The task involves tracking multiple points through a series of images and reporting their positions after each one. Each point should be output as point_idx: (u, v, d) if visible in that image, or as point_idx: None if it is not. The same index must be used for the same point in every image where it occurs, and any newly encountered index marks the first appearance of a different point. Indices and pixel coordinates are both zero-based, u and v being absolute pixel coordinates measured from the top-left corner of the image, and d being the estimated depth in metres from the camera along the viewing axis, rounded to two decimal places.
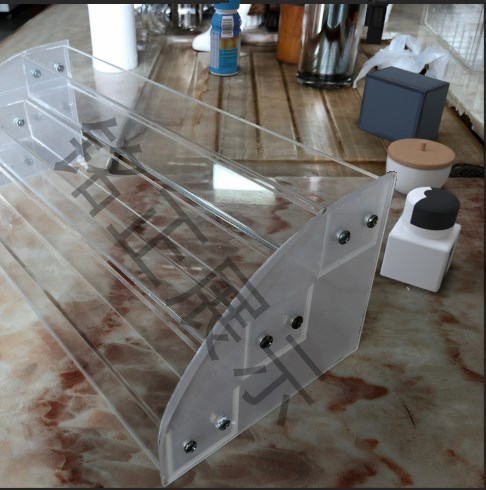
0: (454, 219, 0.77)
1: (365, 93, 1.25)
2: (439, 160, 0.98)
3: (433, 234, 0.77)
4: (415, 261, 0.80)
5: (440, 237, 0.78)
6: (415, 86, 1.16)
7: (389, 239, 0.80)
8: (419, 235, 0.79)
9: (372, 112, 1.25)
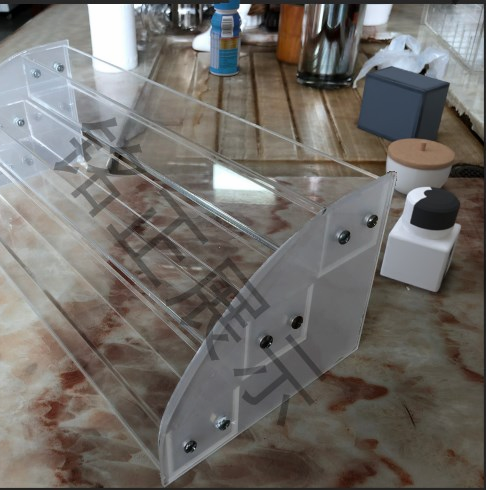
0: (454, 219, 0.77)
1: (365, 93, 1.25)
2: (439, 160, 0.98)
3: (433, 234, 0.77)
4: (415, 261, 0.80)
5: (440, 237, 0.78)
6: (415, 86, 1.16)
7: (389, 239, 0.80)
8: (419, 235, 0.79)
9: (372, 112, 1.25)
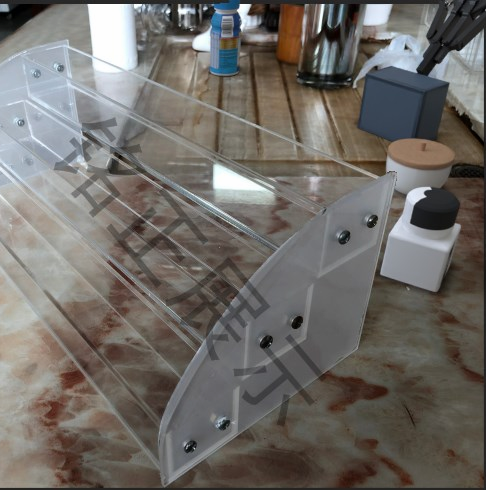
0: (454, 219, 0.77)
1: (365, 93, 1.25)
2: (439, 160, 0.98)
3: (433, 234, 0.77)
4: (415, 261, 0.80)
5: (440, 237, 0.78)
6: (415, 86, 1.16)
7: (389, 239, 0.80)
8: (419, 235, 0.79)
9: (372, 112, 1.25)
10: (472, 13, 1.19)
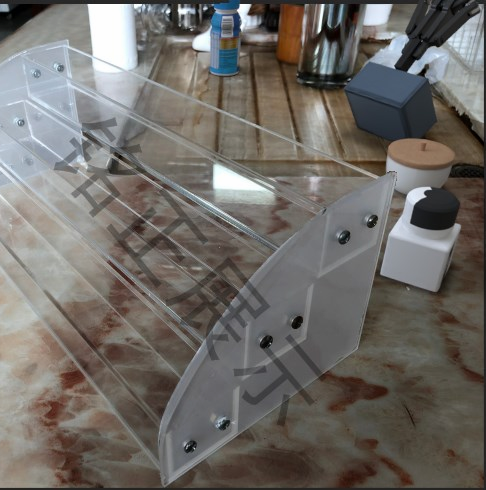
0: (454, 219, 0.77)
1: (350, 103, 1.24)
2: (439, 160, 0.98)
3: (433, 234, 0.77)
4: (415, 261, 0.80)
5: (440, 237, 0.78)
6: (391, 100, 1.13)
7: (389, 239, 0.80)
8: (419, 235, 0.79)
9: (364, 118, 1.24)
10: (452, 8, 1.15)
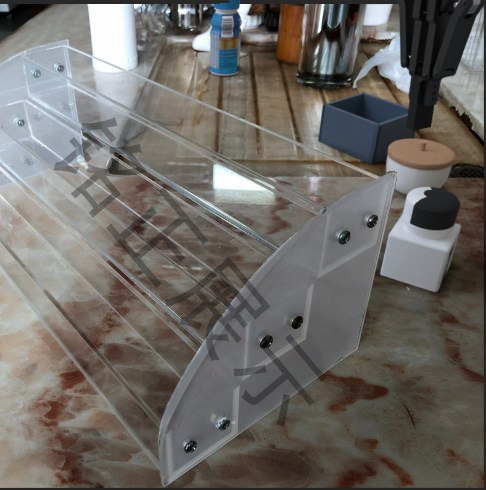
0: (454, 219, 0.77)
1: None
2: (439, 160, 0.98)
3: (433, 234, 0.77)
4: (415, 261, 0.80)
5: (440, 237, 0.78)
6: (361, 155, 1.16)
7: (389, 239, 0.80)
8: (419, 235, 0.79)
9: None
10: None
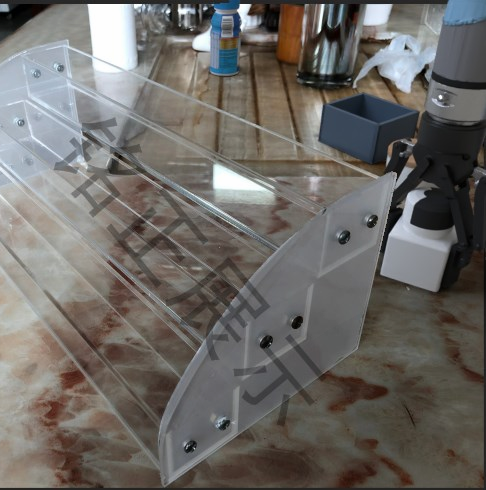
0: None
1: None
2: None
3: (433, 234, 0.77)
4: (415, 261, 0.80)
5: (440, 237, 0.78)
6: (361, 155, 1.16)
7: (389, 239, 0.80)
8: (419, 235, 0.79)
9: None
10: None
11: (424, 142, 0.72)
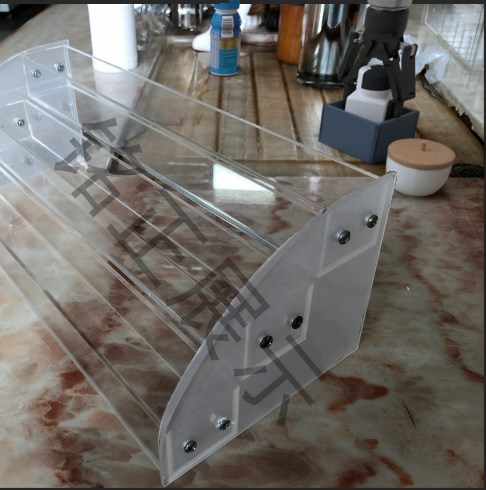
0: None
1: None
2: (439, 160, 0.98)
3: (376, 94, 1.13)
4: (365, 115, 1.15)
5: (381, 97, 1.14)
6: (361, 155, 1.16)
7: (347, 101, 1.16)
8: (367, 96, 1.14)
9: None
10: None
11: (367, 25, 1.08)
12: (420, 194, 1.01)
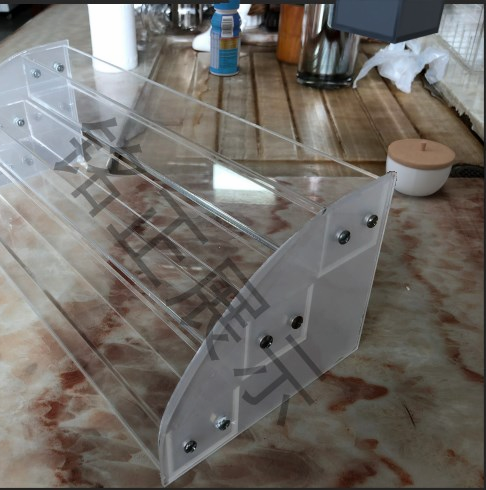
0: None
1: None
2: (439, 160, 0.98)
3: None
4: None
5: None
6: (382, 35, 1.03)
7: None
8: None
9: None
10: None
11: None
12: (420, 194, 1.01)
